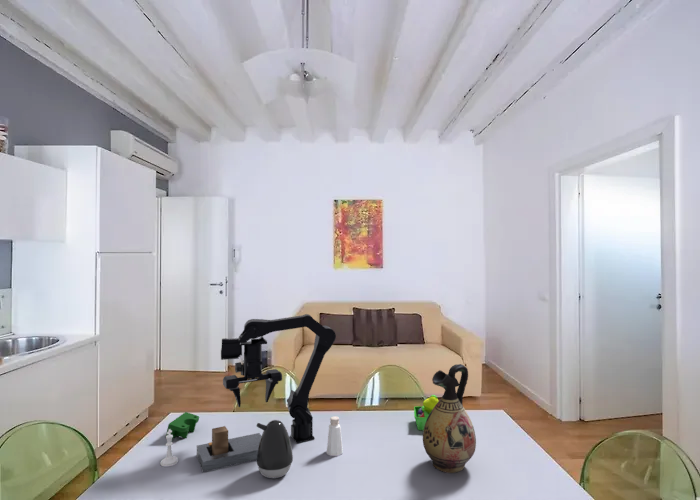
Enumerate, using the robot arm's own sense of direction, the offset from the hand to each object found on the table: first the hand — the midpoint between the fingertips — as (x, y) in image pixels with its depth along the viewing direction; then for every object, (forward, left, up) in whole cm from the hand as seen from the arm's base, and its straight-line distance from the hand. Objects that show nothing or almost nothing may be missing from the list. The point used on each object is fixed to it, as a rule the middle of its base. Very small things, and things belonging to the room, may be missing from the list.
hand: (253, 404), depth 141 cm
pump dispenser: (0, +22, -13) cm, 26 cm away
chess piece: (+26, +1, -13) cm, 29 cm away
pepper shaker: (-21, +19, -13) cm, 31 cm away
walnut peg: (+12, +6, -13) cm, 19 cm away
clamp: (+20, -19, -13) cm, 30 cm away
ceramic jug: (-48, +43, -13) cm, 66 cm away
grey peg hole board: (+8, +6, -13) cm, 16 cm away
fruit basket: (-60, +16, -13) cm, 64 cm away
